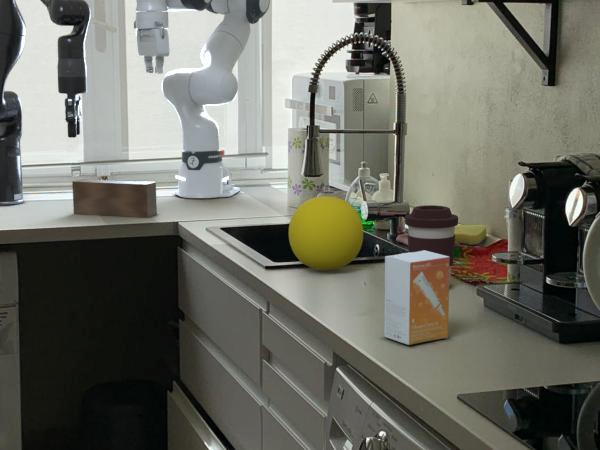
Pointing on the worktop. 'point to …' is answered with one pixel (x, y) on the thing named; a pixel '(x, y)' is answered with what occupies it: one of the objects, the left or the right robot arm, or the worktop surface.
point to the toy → (325, 233)
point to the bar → (114, 198)
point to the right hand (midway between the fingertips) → (154, 73)
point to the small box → (416, 297)
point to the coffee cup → (432, 230)
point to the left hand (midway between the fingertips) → (74, 136)
